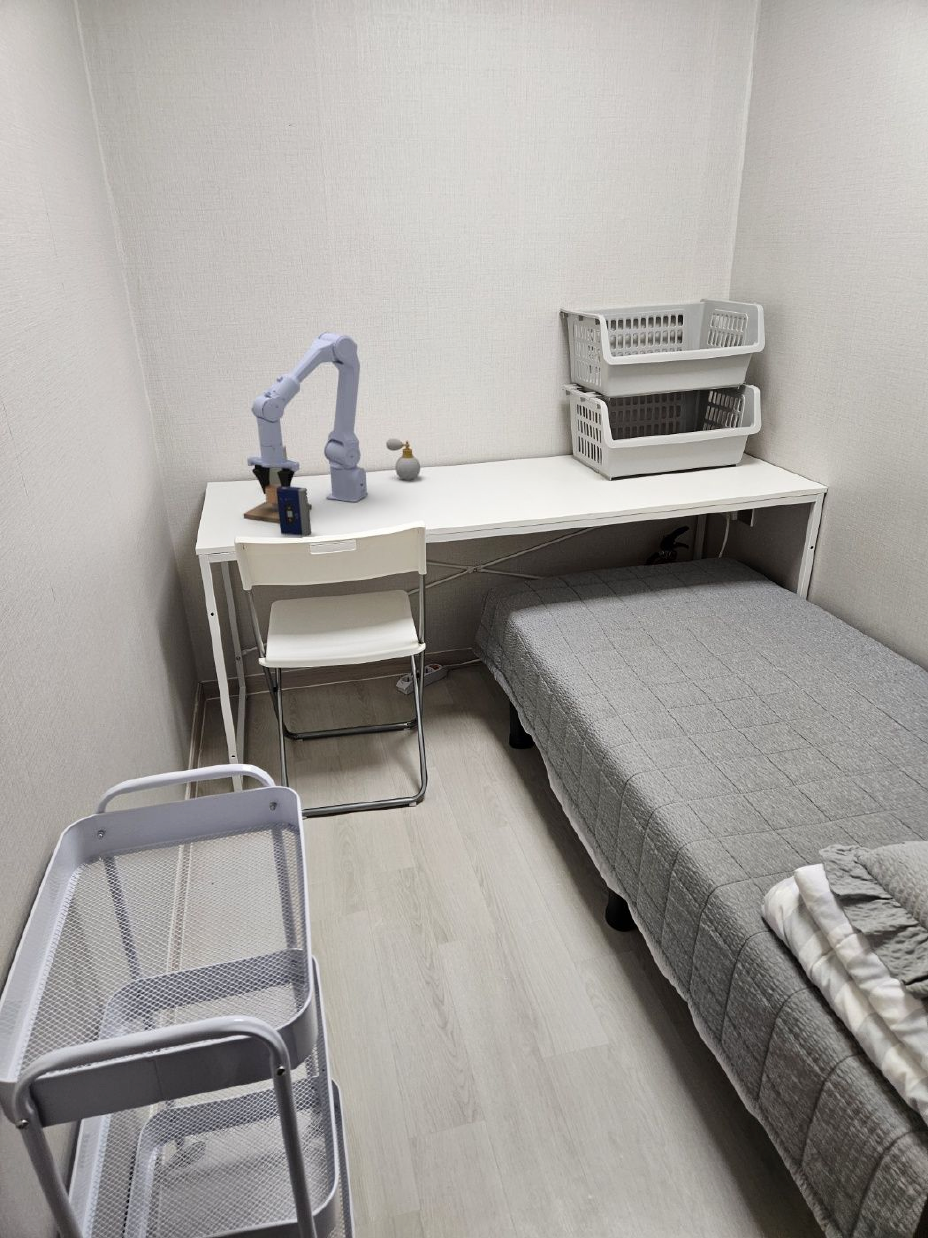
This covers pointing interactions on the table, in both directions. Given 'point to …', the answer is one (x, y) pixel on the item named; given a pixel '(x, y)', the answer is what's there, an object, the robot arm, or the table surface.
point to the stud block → (266, 512)
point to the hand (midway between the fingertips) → (276, 494)
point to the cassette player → (293, 510)
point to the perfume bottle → (404, 460)
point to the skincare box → (276, 470)
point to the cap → (272, 493)
